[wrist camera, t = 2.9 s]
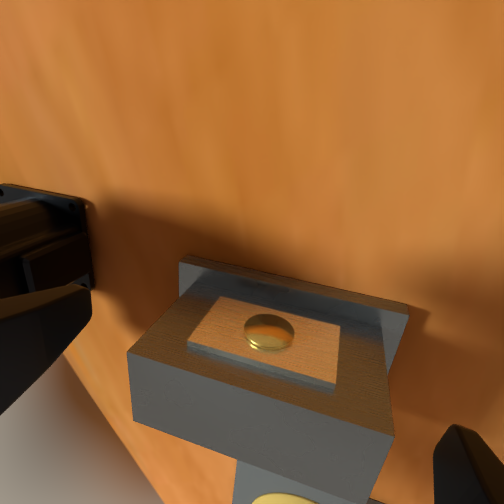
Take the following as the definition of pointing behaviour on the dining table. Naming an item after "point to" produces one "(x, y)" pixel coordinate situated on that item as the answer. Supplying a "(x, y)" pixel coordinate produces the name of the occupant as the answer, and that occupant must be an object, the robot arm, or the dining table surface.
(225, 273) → the lamp housing
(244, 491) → the parts mat
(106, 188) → the dining table surface
